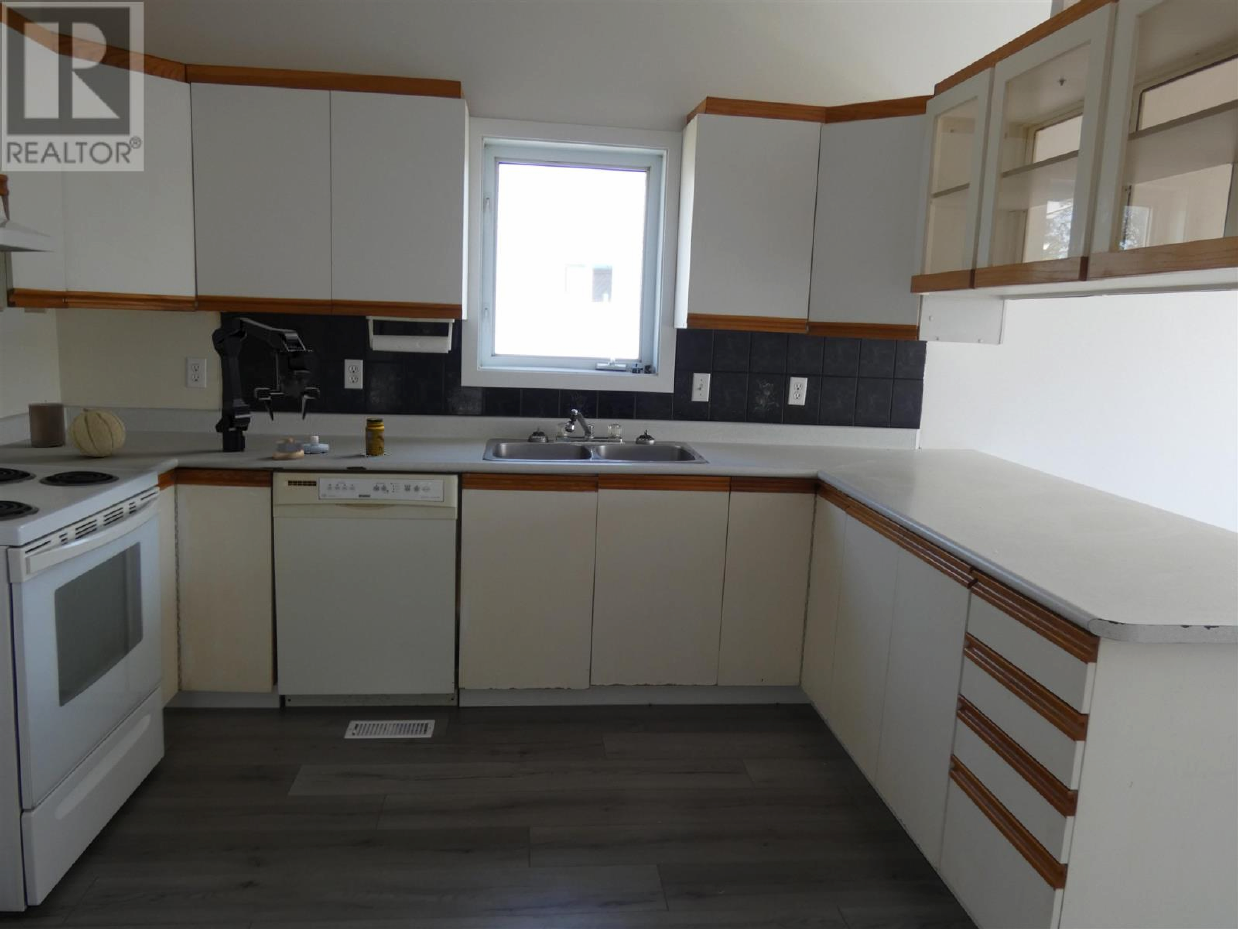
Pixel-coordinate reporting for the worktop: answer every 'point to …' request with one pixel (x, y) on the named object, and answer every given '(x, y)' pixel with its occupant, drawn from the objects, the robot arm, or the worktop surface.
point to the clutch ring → (288, 447)
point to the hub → (315, 446)
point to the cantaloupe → (97, 433)
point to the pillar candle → (47, 424)
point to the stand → (288, 455)
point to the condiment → (374, 437)
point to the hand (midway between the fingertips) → (287, 420)
